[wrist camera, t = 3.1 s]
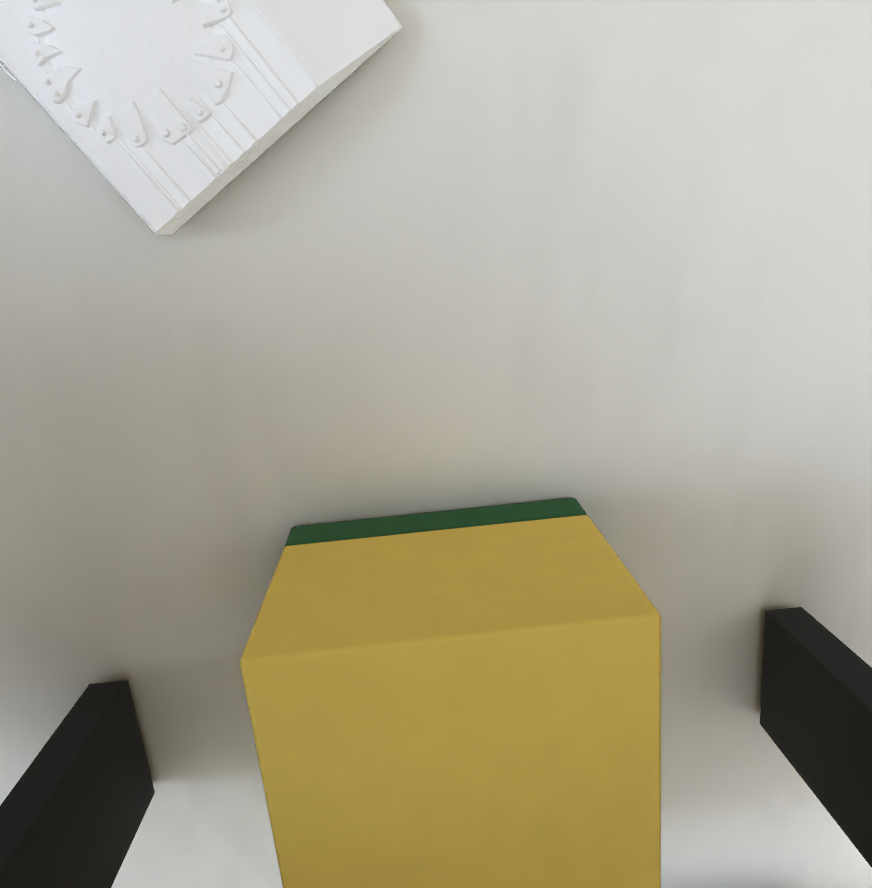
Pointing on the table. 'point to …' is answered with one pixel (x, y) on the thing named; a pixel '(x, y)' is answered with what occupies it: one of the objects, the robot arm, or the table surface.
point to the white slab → (183, 83)
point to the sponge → (459, 704)
